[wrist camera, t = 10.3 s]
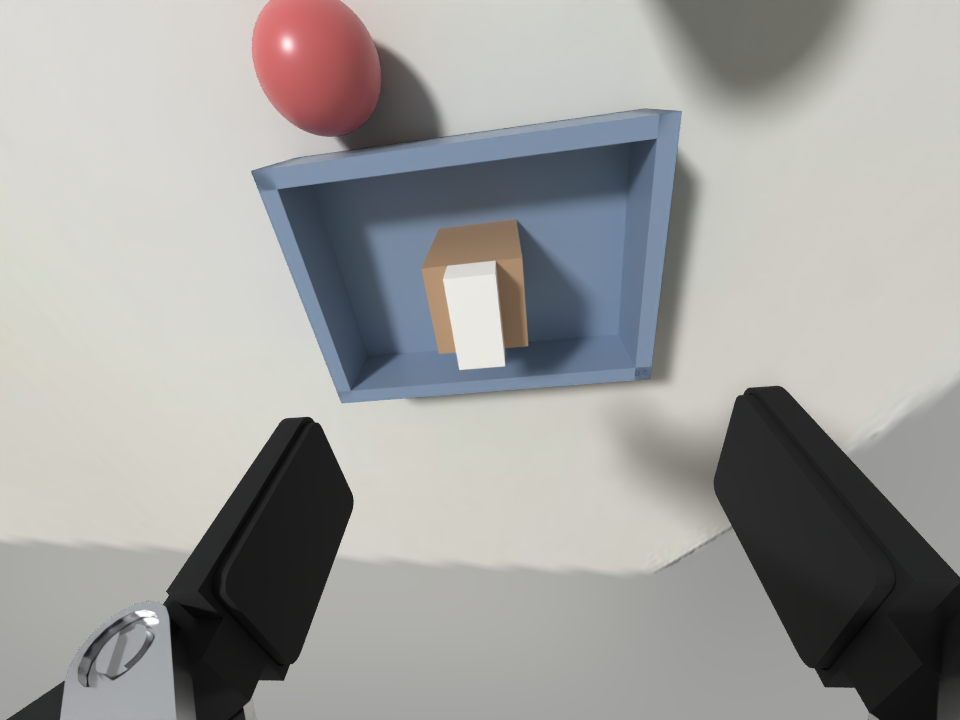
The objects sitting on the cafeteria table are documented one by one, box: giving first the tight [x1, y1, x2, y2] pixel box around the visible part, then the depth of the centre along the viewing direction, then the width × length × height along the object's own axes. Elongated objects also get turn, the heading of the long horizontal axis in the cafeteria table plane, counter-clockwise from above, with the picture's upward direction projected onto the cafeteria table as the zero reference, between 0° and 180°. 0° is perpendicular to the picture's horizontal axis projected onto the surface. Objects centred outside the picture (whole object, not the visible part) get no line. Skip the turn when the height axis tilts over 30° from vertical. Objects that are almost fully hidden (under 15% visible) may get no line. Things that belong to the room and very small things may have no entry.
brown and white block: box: [421, 219, 528, 370], centre depth 24 cm, size 5×5×9 cm
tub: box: [251, 109, 682, 403], centre depth 26 cm, size 21×15×6 cm
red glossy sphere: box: [252, 0, 381, 137], centre depth 21 cm, size 6×6×6 cm
